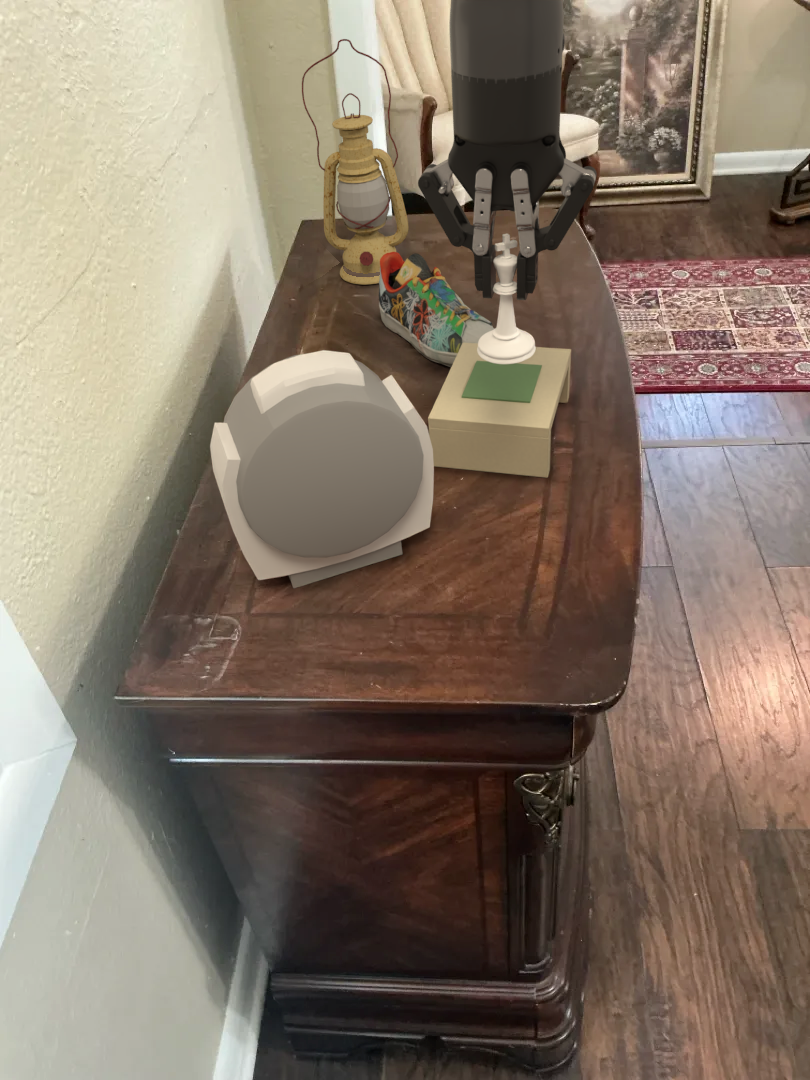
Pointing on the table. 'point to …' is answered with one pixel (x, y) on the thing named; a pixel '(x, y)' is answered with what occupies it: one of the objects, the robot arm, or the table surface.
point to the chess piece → (506, 315)
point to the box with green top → (499, 412)
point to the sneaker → (426, 308)
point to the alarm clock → (322, 468)
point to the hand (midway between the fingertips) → (506, 294)
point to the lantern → (361, 193)
